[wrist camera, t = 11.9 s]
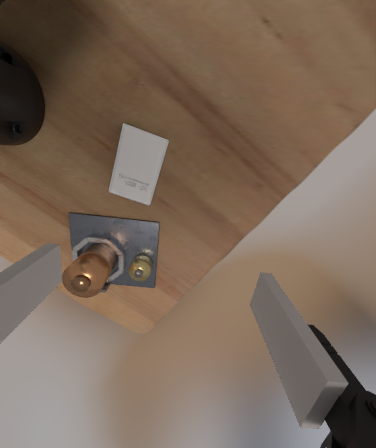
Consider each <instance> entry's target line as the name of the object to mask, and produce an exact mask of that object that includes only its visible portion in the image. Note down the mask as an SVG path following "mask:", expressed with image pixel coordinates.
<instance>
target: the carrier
mask: <svg viewBox="0 0 376 448" xmlns="http://www.w3.org/2000/svg"><path fill="white" fill-rule="evenodd" d="M68 215H69V225H70V236H71V246H72V257H73V262H74V261H75V260H76V259H77V258H78V257H79V256H80V255H81V254H82V253H83V252H84V251H85V250H86V249H87V248H88V247H89V246H91V245H93V244H103V245H106V246H108V247H110V248H111V249H112V250H113V251H114V252H115V254H116V256H117V263H116V266H115V267H114V269H113V271H112V272H111V274H110V276H109V277H108V279H107V281H106V282H105V284H104V286H103V287H102V289H101V291H100V292H104V293H105V292H106V291H107V289H108V287H109V286H110V284H116V285H127V286H138V287H148V288H155V277H156V263H157V249H158V235H159V222H154V221H144V220H135V219H126V218H117V217H107V216H98V215H89V214H80V213H68Z"/></svg>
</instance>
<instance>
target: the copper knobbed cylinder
mask: <svg viewBox="0 0 376 448" xmlns="http://www.w3.org/2000/svg"><path fill="white" fill-rule="evenodd" d="M116 263H117V256H116V254H115V252H114V251H113V250H112V249H111V248H110V247H108V246H106V245H103V244H93V245H91V246H89V247H88V248H87V249H86V250H85V251H84V252H83V253H82V254H81V255H80V256H79V257H78V258H77V259H76V260H75V261H74V262H73V263H72V264H71V265H70V266H69V267H68V268H67V269H66V270H65V271H64V272H63V275H62V282H63V285H64V286H65V288H66V289H67V290H68V291H69V292H70V293H72V294H74V295H76V296H79V297H85V298H87V297H92V296H95V295H97V294H98V293H99V292H100V291H101V289H102V287H103V286H104V284H105V282H106V281H107V279H108V277H109V276H110V274H111V272H112V271H113V269H114V267H115V266H116Z"/></svg>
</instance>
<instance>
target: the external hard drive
mask: <svg viewBox="0 0 376 448" xmlns="http://www.w3.org/2000/svg"><path fill="white" fill-rule="evenodd" d="M168 143H169V140H167V139H164V138H162V137H159V136H156V135H154V134H151V133H148V132H146V131H143V130H141V129H138V128H135V127H133V126H130V125H127V124H125V123H123V126H122V130H121V135H120V140H119V145H118V149H117V154H116V159H115V163H114V168H113V173H112V177H111V182H110V187H109V192H110V193H113V194H116V195H119V196H122V197H125V198H128V199H131V200H134V201H137V202H140V203H143V204H146V205H150V204H151V201H152V197H153V194H154V191H155V187H156V184H157V181H158V177H159V174H160V171H161V167H162V164H163V160H164V157H165V154H166V150H167V147H168Z"/></svg>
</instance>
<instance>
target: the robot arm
mask: <svg viewBox="0 0 376 448" xmlns="http://www.w3.org/2000/svg"><path fill="white" fill-rule="evenodd" d="M4 1H5V0H0V6H1V5H2V3H3V2H4ZM43 118H44V99H43V94H42V91H41V88H40V85H39V82H38V80H37V78H36V76H35V75H34V73H33V71H32V70H31V68H30V67H29V66H28V64H27V63H26V62H25V61H24V60H23V59H22V58H21V57H20V56H19V55H18V54H17V53H16V52H15V51H14V50H12V49H11V48H9V47H8V46H6V45H4V44H3V43H1V42H0V145H19V144H22V143H25V142H27V141H29V140H30V139H32V138H33V137H34V136H35V135H36V134H37V132H38V131H39V129H40V127H41V125H42V122H43ZM61 282H62V269H61V255H60V245H59V244H52V243H46V244H45V245H43V246H42V247H40V248H39V249H37V250H35V251H34V252H32V253H31V254H29V255H27V256H26V257H24V258H23V259H21V260H19V261H18V262H16V263H15V264H13V265H12V266H10V267H8V268H7V269H5V270H4V271H2V272H0V343H1V342H2V341H3V340H4V339H5V338H6V337H7V336H8V335H9V334H10V333H11V332H12V331H13V330H14V329H15V328H16V327H17V326H18V325H19V324H20V323H21V322H22V321H23V320H24V319H25V318H26V317H27V316H28V315H29V314H30V313H31V312H32V311H33V310H34V309H35V308H36V307H37V306H38V305H39V304H40V303H41V302H42V301H43V300H44V299H45V298H46V297H47V296H48V295H49V294H50V293H51V292H52V291H53V290H54V289H55V288H56V287H57V286H58V285H59V284H60V283H61ZM250 306H251V309H252V311H253V314H254V316H255V318H256V321H257V323H258V326H259V328H260V331H261V333H262V335H263V338H264V340H265V343H266V345H267V348H268V350H269V352H270V355H271V357H272V360H273V362H274V365H275V367H276V370H277V372H278V374H279V377H280V379H281V382H282V384H283V387H284V389H285V391H286V394H287V396H288V399H289V401H290V403H291V406H292V408H293V411H294V413H295V416H296V418H297V420H298V423H299V425H300V427H302V428H313V429H319V428H320V426H321V425H322V423H323V422H324V420H325V421H326V423H327V425H328V426H329V428H330V430H331V431H330V433H329V434H328V436H327V437H326V439H325V440H324V442H323V443H322V445H321V447H320V448H326V447H327V448H376V395H375V394H373V393H371V392H369V391H366V390H365V389H364V387H363V386H362V385H361V384H360V382H359V381H358V380H357V378H356V377H355V375H354V374H353V373H352V372H351V370H350V369H349V368H348V366H347V365H346V364H345V362H344V361H343V360H342V358H341V357H340V356H339V355H338V354H337V352H336V350H335V349H334V348H333V346H331V344H330V342H329V341H328V340H327V338H326V337H325V336H324V335H323V334H322V333H321V332H320V331H319V330H318V329H317V328H316V327H315V326H314V325H308V324H307V323H306V322H305V320H304V319H303V318H302V316H301V315H300V313H299V312H298V311H297V309H296V308H295V306H294V305H293V303H292V302H291V301H290V299H289V298H288V296H287V295H286V294H285V292H284V291H283V289H282V288H281V287H280V285H279V284H278V282H277V281H276V279H275V278H274V276H273V275H272V274H269V273H262V272H261V273H260V276H259V279H258V282H257V285H256V288H255V291H254V294H253V297H252V300H251V303H250Z"/></svg>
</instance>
